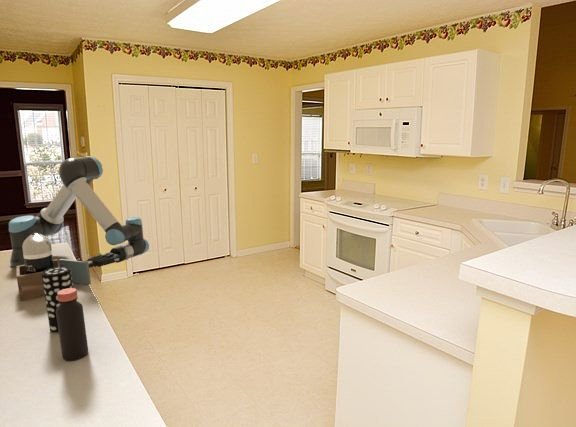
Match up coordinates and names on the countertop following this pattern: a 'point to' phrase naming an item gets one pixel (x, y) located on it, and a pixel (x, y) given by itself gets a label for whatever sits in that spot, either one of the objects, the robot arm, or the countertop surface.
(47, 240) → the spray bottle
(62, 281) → the spotted tube
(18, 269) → the bay
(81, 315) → the vinegar
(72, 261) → the bay door
